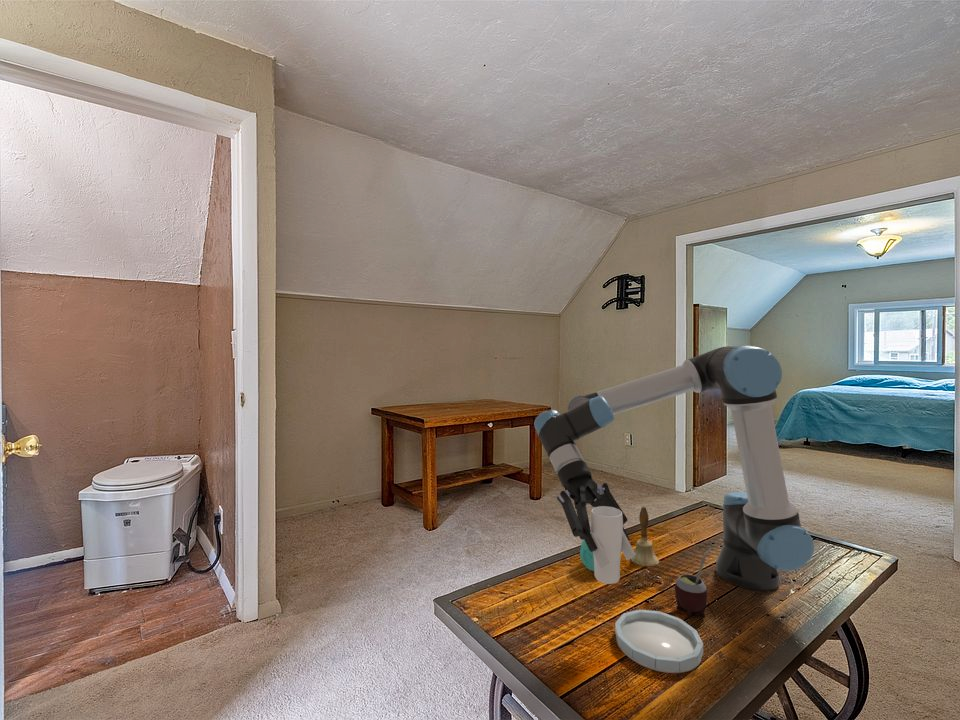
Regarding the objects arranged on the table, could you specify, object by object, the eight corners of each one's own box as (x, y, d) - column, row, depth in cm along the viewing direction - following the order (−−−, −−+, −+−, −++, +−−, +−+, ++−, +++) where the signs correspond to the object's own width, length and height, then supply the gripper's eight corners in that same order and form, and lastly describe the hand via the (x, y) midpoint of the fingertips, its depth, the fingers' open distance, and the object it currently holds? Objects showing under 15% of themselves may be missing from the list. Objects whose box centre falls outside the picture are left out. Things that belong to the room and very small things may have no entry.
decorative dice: (592, 557, 137) (592, 531, 137) (617, 565, 132) (617, 538, 132) (579, 567, 131) (579, 539, 131) (605, 576, 126) (605, 547, 126)
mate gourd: (672, 614, 108) (672, 552, 107) (678, 599, 114) (679, 540, 114) (706, 625, 103) (707, 560, 103) (711, 608, 110) (712, 548, 109)
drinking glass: (624, 588, 95) (624, 517, 95) (591, 585, 96) (591, 515, 96) (621, 572, 102) (621, 506, 101) (590, 570, 103) (590, 505, 103)
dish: (687, 624, 104) (687, 613, 104) (713, 677, 87) (714, 665, 87) (611, 617, 106) (611, 607, 106) (622, 667, 90) (622, 655, 90)
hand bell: (637, 567, 131) (638, 513, 130) (625, 554, 139) (625, 503, 138) (664, 565, 132) (665, 511, 131) (650, 553, 140) (650, 502, 140)
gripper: (595, 470, 117) (643, 558, 102) (530, 481, 108) (573, 578, 94) (609, 454, 112) (661, 544, 97) (542, 464, 103) (589, 564, 89)
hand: (618, 561), depth 96 cm, fingers closed on drinking glass, 7 cm apart
